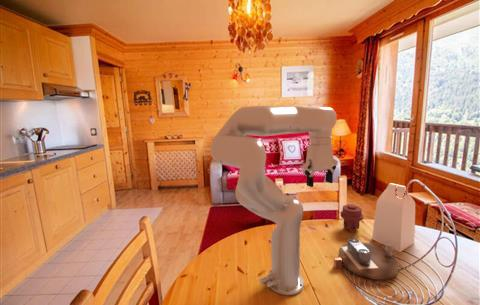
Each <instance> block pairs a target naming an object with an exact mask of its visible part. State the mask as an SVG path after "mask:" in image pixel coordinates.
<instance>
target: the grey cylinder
mask: <svg viewBox="0 0 480 305" xmlns="http://www.w3.org/2000/svg"><path fill="white" fill-rule="evenodd" d="M346 244H347V251H348V252H349V253H350V254H351V255H352V256H353V258H354V259H355V260H356V261H357V262H358V263H359V264H360V265H361V266H364V267H368V266H370V260H371V252H370V251H369V250H368V249H367V248H366V247H365V246H364V245H363V244H362V243H361V241H360V240H359V239H358V238H356V237H348V238H347V242H346Z"/></svg>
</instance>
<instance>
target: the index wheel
mask: <svg viewBox="0 0 480 305" xmlns="http://www.w3.org/2000/svg"><path fill="white" fill-rule="evenodd" d="M360 242H361V241H360ZM361 243H362V244H363V245H364V246H365V247H366V248H367V249H368V250H369V251H370V252H371V260H370V266H368V267H364V266H361V265H360V264H359V263H358V262H357V261H356V260H355V259H354V258H353V256H352V255H351V254H350V253H349V252H348V251H347V243H344V244H342V245H341V246H340V247H339V249H338V258H339V257H340V258H341V259H342V266H343V267H345V268H346V269H347V270H348V271H350V272H352V273H354V274H356V275H358V276H361V277H364V278H368V279H373V280H388V279H391V278H393V277H396V275H397V274H398V272H399V262H398V259H397V258H396V256H395V255H394V254H393V252H394V249H393V245H392V244H389V243H387V244H386V245H385V248H383V247H380V246H378V245H375V244H372V243H368V242H361ZM397 270H398V271H397Z"/></svg>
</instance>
